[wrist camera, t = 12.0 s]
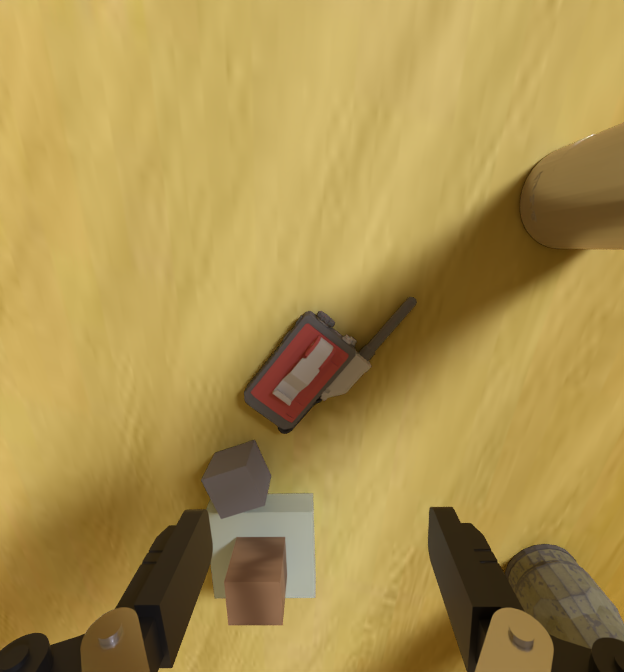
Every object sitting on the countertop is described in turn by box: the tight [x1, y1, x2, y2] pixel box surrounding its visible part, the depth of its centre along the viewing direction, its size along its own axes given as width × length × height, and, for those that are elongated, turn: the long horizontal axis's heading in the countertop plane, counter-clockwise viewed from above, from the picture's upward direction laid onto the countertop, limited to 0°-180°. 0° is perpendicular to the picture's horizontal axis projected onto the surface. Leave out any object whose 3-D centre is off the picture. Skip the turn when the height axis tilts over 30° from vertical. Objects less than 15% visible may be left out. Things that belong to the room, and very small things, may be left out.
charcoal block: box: [201, 440, 271, 519], centre depth 39 cm, size 5×5×5 cm
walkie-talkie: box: [244, 297, 417, 434], centre depth 36 cm, size 9×4×20 cm
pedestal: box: [206, 493, 316, 598], centre depth 42 cm, size 12×12×3 cm
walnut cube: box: [224, 537, 287, 625], centre depth 38 cm, size 6×6×6 cm
